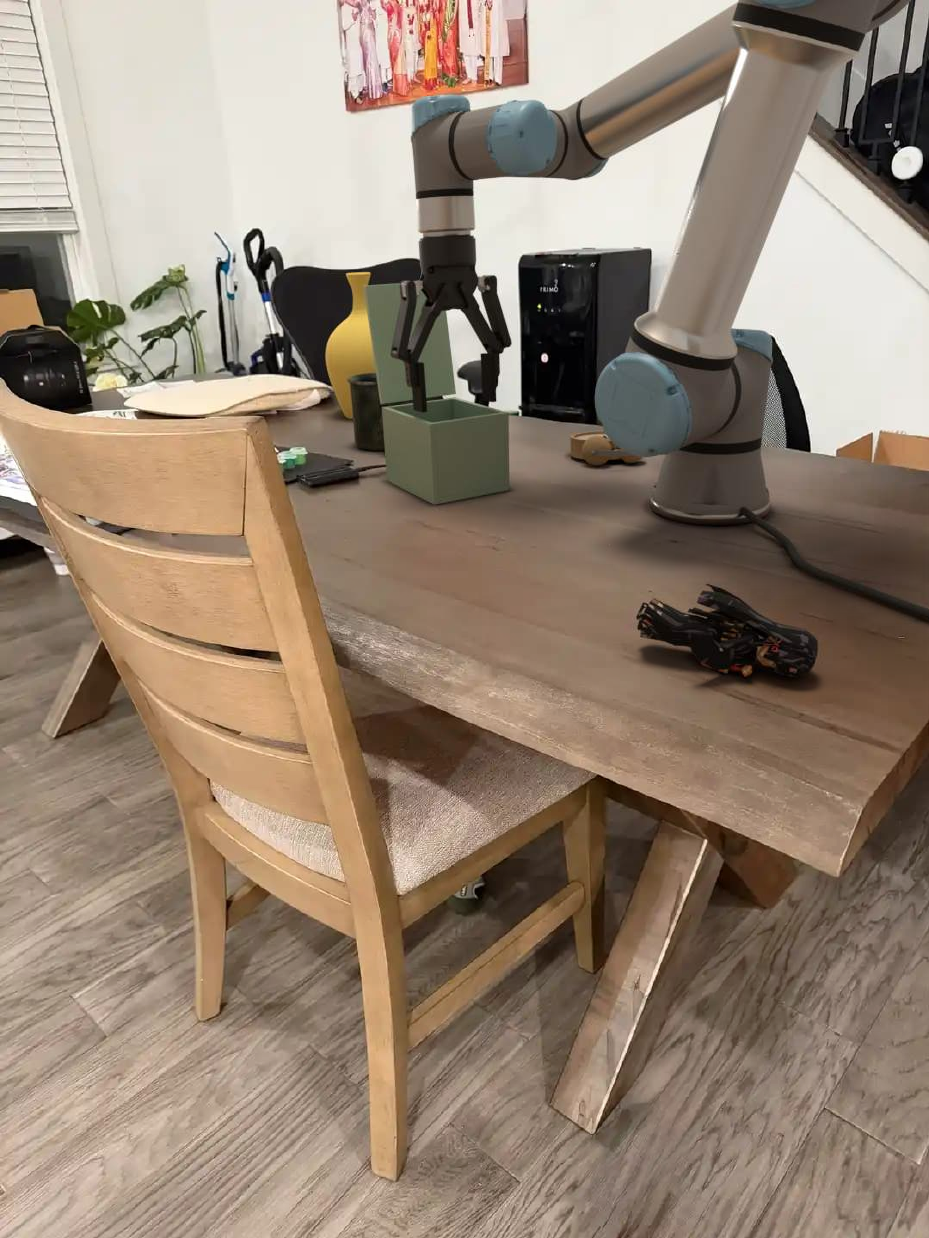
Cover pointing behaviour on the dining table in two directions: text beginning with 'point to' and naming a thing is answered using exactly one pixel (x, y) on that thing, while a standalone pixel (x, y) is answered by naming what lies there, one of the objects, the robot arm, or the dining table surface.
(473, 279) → the robot arm
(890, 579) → the dining table surface
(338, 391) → the vase
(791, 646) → the figurine
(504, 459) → the chest
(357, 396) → the mug
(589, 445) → the wooden toy car
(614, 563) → the dining table surface
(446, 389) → the lid
